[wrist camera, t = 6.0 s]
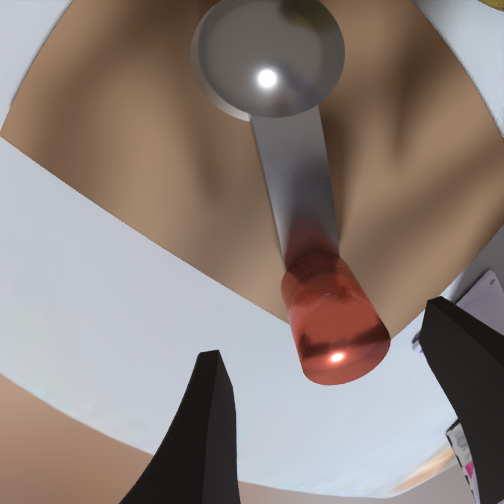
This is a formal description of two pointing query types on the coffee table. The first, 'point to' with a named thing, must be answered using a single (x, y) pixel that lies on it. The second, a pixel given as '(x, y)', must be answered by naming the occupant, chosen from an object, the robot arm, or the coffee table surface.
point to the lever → (297, 170)
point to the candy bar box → (461, 451)
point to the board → (245, 154)
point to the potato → (494, 4)
